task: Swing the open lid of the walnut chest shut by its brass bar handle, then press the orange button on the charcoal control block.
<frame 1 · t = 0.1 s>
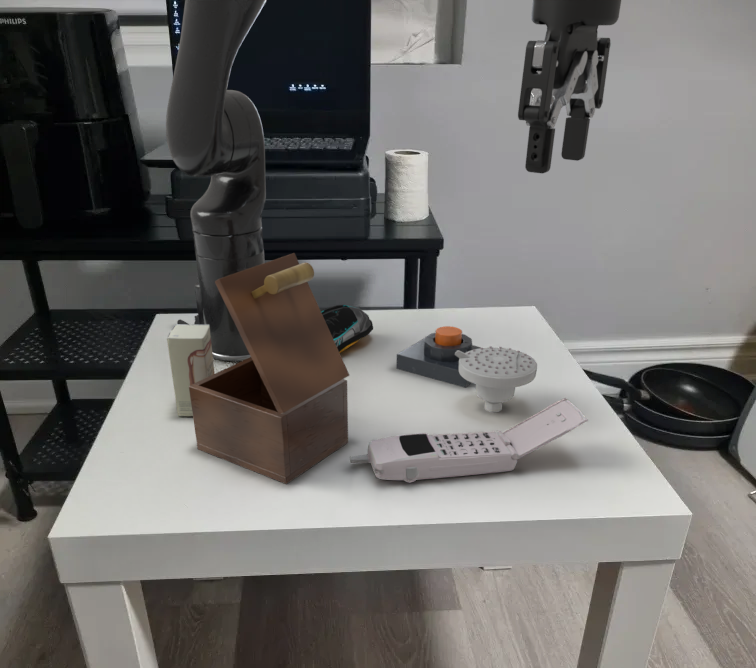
hand: (555, 165, 72), 29 cm above the table, tool pointing down, fingers open, 8 cm apart
control block: (446, 367, 104), on the table
showerhead: (490, 409, 94), on the table
computer mouse: (327, 349, 110), on the table
mobile phone: (465, 466, 82), on the table
compact mirror: (303, 389, 98), on the table
off-white upright block: (199, 409, 93), on the table
chest: (273, 445, 85), on the table
lid: (299, 325, 75), point 15 cm above the table, hinge at 60.0°
button: (448, 336, 102), point 4 cm above the table, slide at 0.1 cm
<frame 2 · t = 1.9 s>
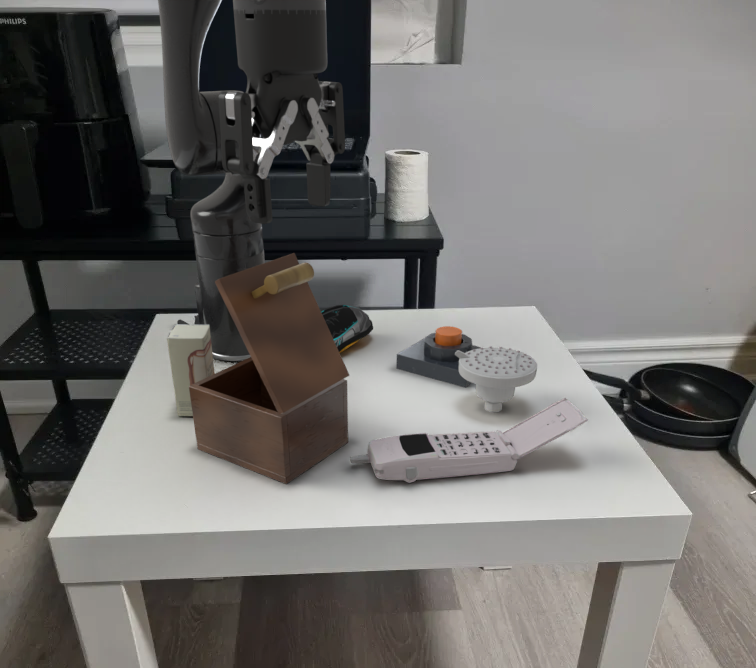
hand: (291, 213, 70), 26 cm above the table, tool pointing down, fingers open, 8 cm apart
nothing on the table moved.
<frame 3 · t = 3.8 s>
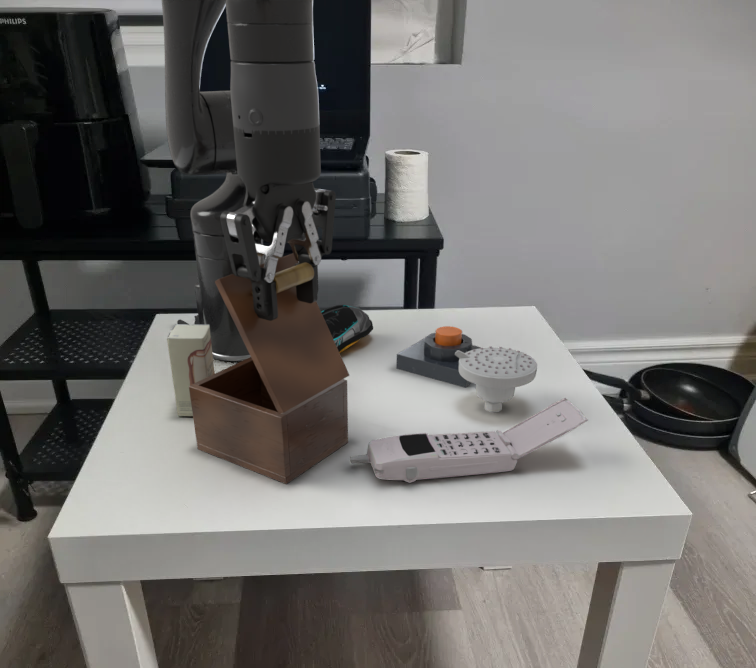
hand: (287, 309, 75), 17 cm above the table, tool pointing down, fingers closed on lid, 5 cm apart
lid: (299, 325, 75), point 15 cm above the table, hinge at 60.0°, touching gripper
everything else where it was.
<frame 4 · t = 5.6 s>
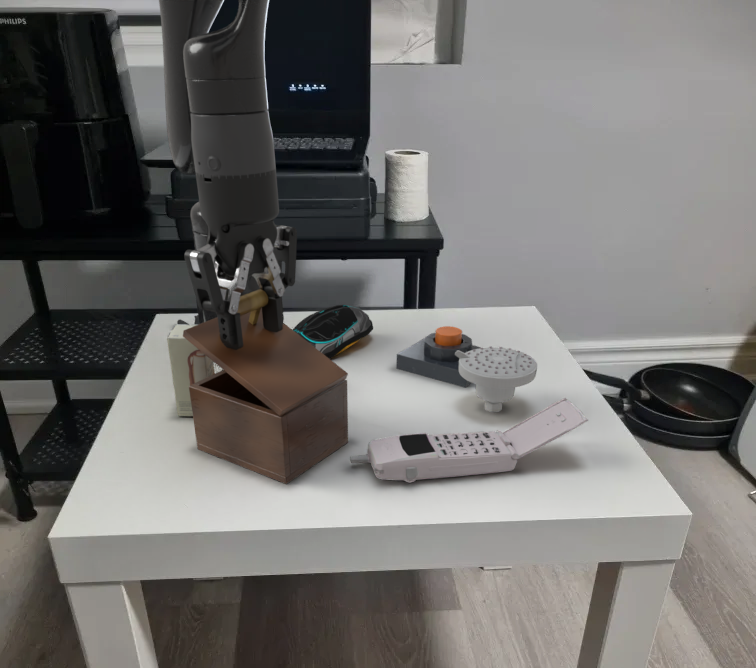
hand: (253, 338, 79), 13 cm above the table, tool pointing down, fingers closed on lid, 5 cm apart
lid: (272, 340, 78), point 13 cm above the table, hinge at 23.4°, touching gripper
everything else where it was.
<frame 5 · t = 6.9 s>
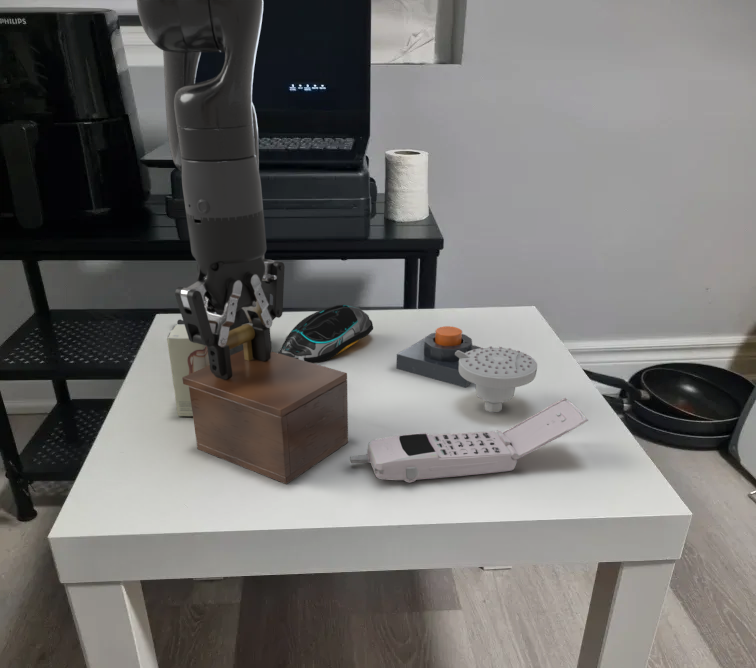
hand: (242, 367, 82), 9 cm above the table, tool pointing down, fingers closed on lid, 5 cm apart
lid: (264, 361, 80), point 10 cm above the table, hinge at -0.2°, touching chest, gripper
everything else where it was.
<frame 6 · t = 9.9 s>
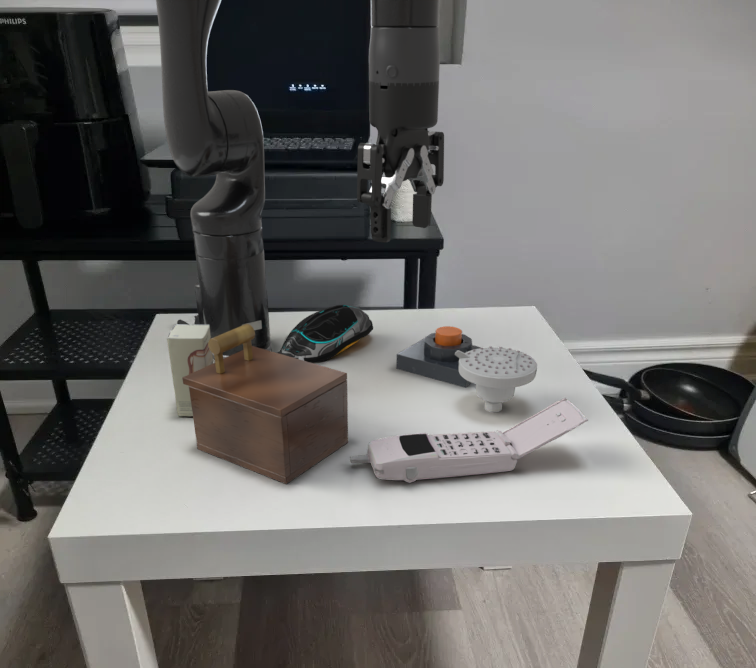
hand: (401, 233, 89), 20 cm above the table, tool pointing down, fingers open, 8 cm apart
lid: (264, 361, 80), point 10 cm above the table, hinge at -0.2°, touching chest
everything else where it was.
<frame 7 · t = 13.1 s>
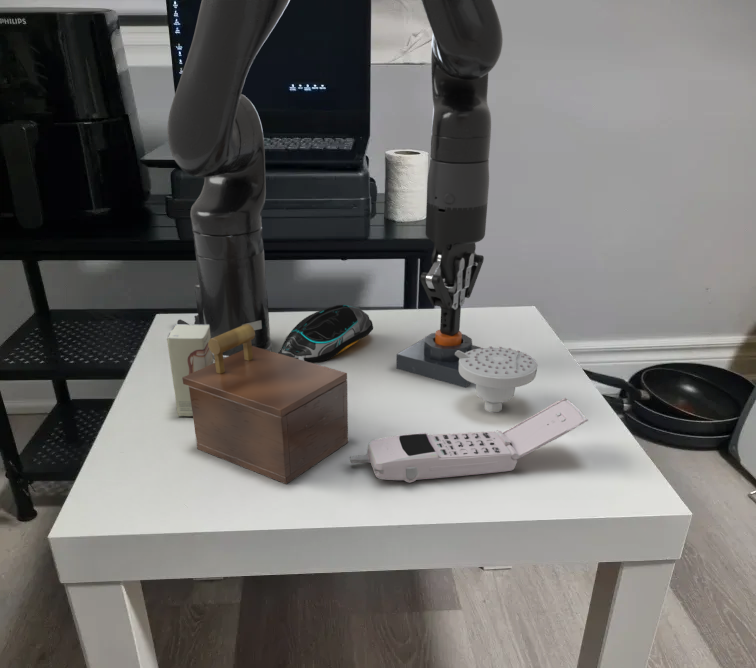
hand: (449, 333, 102), 5 cm above the table, tool pointing down, fingers closed
button: (448, 339, 102), point 4 cm above the table, slide at -0.2 cm, touching gripper
everything else where it was.
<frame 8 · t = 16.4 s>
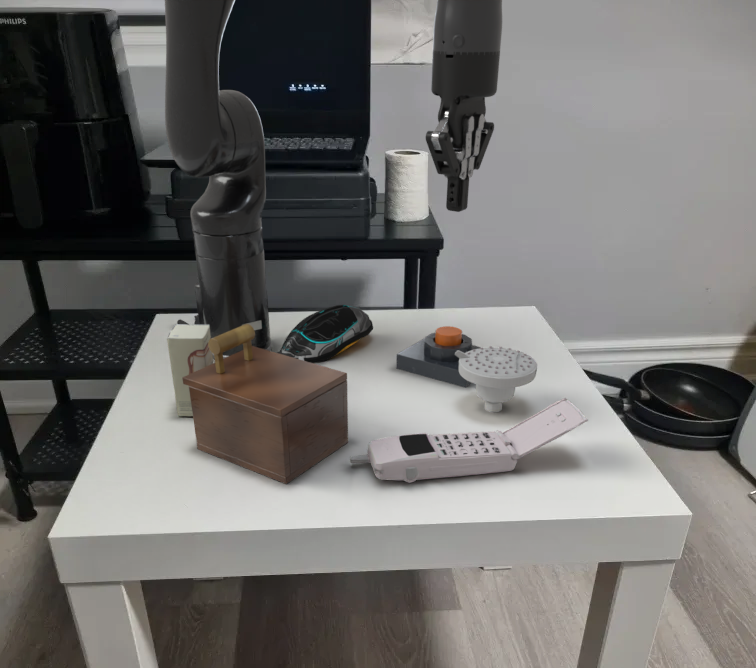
hand: (456, 210, 93), 21 cm above the table, tool pointing down, fingers closed
button: (448, 336, 102), point 4 cm above the table, slide at 0.1 cm
everything else where it was.
at the end: lid at +0° (first picture: +60°); button pushed in 1.1 cm at the most during the clip, back to where it started at the end; button slide at 0.1 cm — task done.
